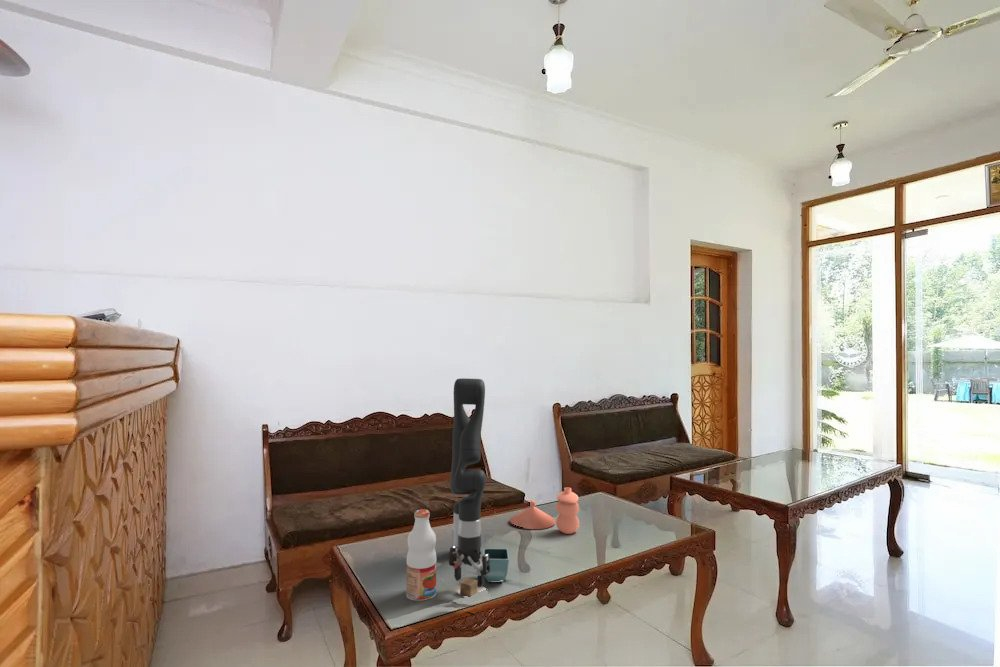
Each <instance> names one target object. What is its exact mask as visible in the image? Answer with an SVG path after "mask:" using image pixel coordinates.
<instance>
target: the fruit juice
mask: <svg viewBox="0 0 1000 667" xmlns="http://www.w3.org/2000/svg"><path fill="white" fill-rule="evenodd" d="M430 514H431V513H430V510H428V509H417V510H415V511H414V516H413V517H414V525H413V526H412V527H413V528H412V530H411V531H410V532H409V534H408V536H407V541H406V542H407V548H408V551H407V555H406V582H405V583H406V593H405V595H406V597H407V599H409V600H412V601H425V600H429V599H432V598H434V597H435V596H436V594H437V552H436V548H435V547H436V544H437V536H436V532H435V531H434V530H433V529H432V527H431V524H430V520H429V519H430V517H431V516H430Z"/></svg>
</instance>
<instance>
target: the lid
mask: <svg viewBox="0 0 1000 667" xmlns="http://www.w3.org/2000/svg"><path fill="white" fill-rule="evenodd" d="M477 584H478V579H474V578H470V577H465V578H464V579H463V580H462V581H460V583H459V585H457V586H455V587H452V590H453V591H454V592H456V593H457V594H458V595H461V597H463V596H468V597H471V596H472V595H474V594H476V593H477V592H481V591H483V590H486V589H487V588H486V587H484V586H481V587H480V588H479V587H478V586H477Z"/></svg>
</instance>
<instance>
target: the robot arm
mask: <svg viewBox="0 0 1000 667" xmlns="http://www.w3.org/2000/svg"><path fill="white" fill-rule="evenodd" d="M485 398H486V386H485V382H484V380H483V379H480V378H457V379H455V381H454V384H453V427H452V447H451V448H452V449H451V450H452V452H451V454H452V458H451V459H452V461H451V468H450V469H451V470H450V479H449V488H450V491H451V493H452V494H453V495H459V496H460V495H467V496H465V497H464V498H462V499H460V500H458V501H456V502H455V503H454V504H453V528H452V529H453V530H451V531H450V532H451V533H450V534H451V535H450V538H451V539H450V544H451V545H450V548H449V561H448V562H449V563H448V564H449V566H450V567H451V566H452V567H453V569H454V579H455V581H460V580H461V579H462V565H463V564H464V565H468V566H470V567H472V568H473V570H475V571H476V573H477V580H478V584H477V586H478V587H479V588H480V587H481V586H483V585H485V575H486V574H488V573H489V572H490V558H489V554H488V553H487V554H483V553H482V551H481V547H482V521H481V519H482V518H481V513H482V512H481V511H482V510H481V507H482V506H481V505H482V499H483V494H484V490H485V488H486V484H487V475H486V473H485V471H484V470H482V469H466V468H467V466H470V465H474V464H477V463H479V462H480V460H481V458H482V457H481V456H482V455H481V454H482V453H481V452H482V451H481V450H482V447H481V444H482V442H481V439H482V438H481V437H482V427H483V419H484V410H485V408H484V407H485ZM464 405H472V406H475V408H474V412H473V414H472V415H471V417H469V415H468V414H467V413H466V410H465V408H464ZM457 558H458V559H457ZM483 587H484V586H483Z"/></svg>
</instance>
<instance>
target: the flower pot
mask: <svg viewBox="0 0 1000 667" xmlns="http://www.w3.org/2000/svg"><path fill="white" fill-rule="evenodd" d="M482 551H483V552H482V554H487V553H488V554H489V558H490V572H489V573H488V574H486V575H484V578H485V579H486V581H487V583H489V582H491V581H500V580H504V581H505V580H506V578H507V575H508V570H509V563H510V555H509V549H508V548H483V549H482Z"/></svg>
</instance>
